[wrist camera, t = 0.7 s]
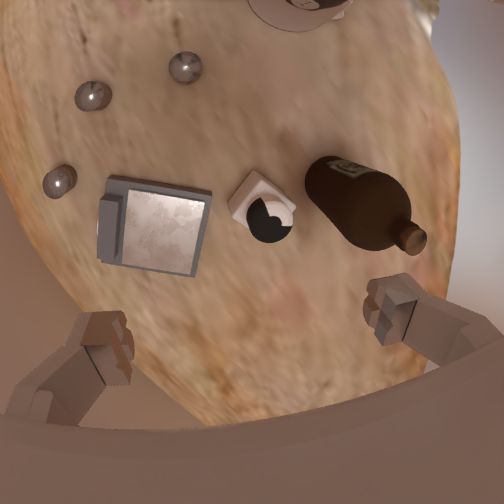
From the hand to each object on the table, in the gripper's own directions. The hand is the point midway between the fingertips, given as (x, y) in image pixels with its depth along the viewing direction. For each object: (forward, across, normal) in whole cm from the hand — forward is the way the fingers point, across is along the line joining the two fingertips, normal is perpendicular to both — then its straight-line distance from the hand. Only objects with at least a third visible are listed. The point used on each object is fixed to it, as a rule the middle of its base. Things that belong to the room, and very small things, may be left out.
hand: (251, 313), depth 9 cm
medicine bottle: (+40, -7, +10) cm, 42 cm away
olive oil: (+40, -20, +7) cm, 46 cm away
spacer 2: (+40, +17, -10) cm, 45 cm away
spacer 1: (+40, +25, +2) cm, 47 cm away
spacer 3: (+40, +3, -12) cm, 42 cm away
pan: (+38, +9, +13) cm, 41 cm away
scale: (+40, +10, +13) cm, 43 cm away
